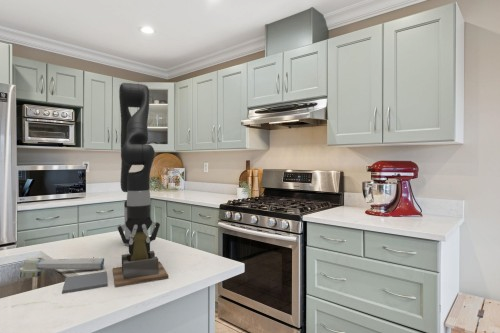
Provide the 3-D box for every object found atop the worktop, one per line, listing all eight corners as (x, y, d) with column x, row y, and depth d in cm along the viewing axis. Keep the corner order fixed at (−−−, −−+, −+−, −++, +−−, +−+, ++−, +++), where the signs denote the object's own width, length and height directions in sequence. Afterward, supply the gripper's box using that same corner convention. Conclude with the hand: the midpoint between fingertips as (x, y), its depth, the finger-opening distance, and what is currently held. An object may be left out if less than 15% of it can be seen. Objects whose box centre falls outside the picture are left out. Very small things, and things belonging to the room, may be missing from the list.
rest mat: (66, 279, 101) (65, 277, 101) (106, 273, 107) (106, 271, 107) (62, 293, 91) (62, 290, 91) (107, 286, 96) (107, 283, 96)
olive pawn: (146, 266, 103) (146, 233, 103) (127, 266, 103) (127, 233, 102) (151, 260, 109) (150, 229, 109) (133, 260, 109) (132, 229, 108)
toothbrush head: (103, 260, 110) (19, 258, 101) (100, 279, 109) (16, 278, 101) (104, 256, 115) (24, 253, 106) (102, 274, 114) (22, 273, 106)
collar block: (112, 270, 109) (112, 253, 109) (159, 264, 116) (159, 247, 116) (115, 287, 95) (114, 267, 95) (168, 278, 102) (168, 260, 102)
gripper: (158, 200, 112) (159, 248, 112) (115, 203, 106) (115, 254, 106) (162, 203, 105) (162, 254, 106) (116, 206, 99) (117, 260, 99)
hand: (139, 253), depth 106 cm, fingers closed on olive pawn, 4 cm apart
